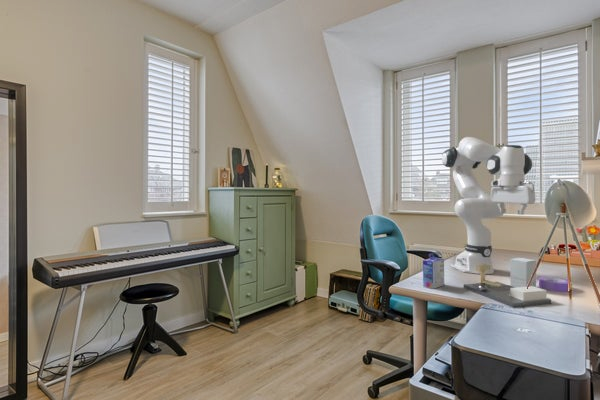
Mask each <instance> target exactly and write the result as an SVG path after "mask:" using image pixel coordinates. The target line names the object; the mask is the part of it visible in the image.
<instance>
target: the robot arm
mask: <svg viewBox="0 0 600 400" xmlns="http://www.w3.org/2000/svg"><path fill="white" fill-rule="evenodd" d="M441 161H442V164H443V166H444V167H446V168H454V170H453V171H452V178H453V180H454V182H453V183H454V184H455V186H456V189H457V190H458V191H457V192H458V193H459V195H460V196H461V197H462V198H461V199H458V200H457V201H456V202H455V205H454V209H453V210H454V212H455V214H456V216H457V217H458V218H460V219H461V220H462V221H463V223H464V226H465V228H466V233H467V234H466V235H467V236H466V237H467V244H465V245H463V247H465V248H464V251H462V252H461V253H458V255H456V258H455V263H451V264H450V267H452V268H454V269H456V270H458V271H460V272H463V273H470V274H478V275H479V274H480V275H481V271H476V265H482V264H489V265H491V268H490V270H485V275H492V274H494V273H495V268H494V265H493V263H494V262H493V256H492V253H493V252H492V249H493V245H492V232H491V230H490V228H488V227H487V226H485V225H483V222H482V219H484V220H486V219H487V220H488V219H490V220H492V219H497V218H501V217H503V215H504V214H505V213H507V209H506V204H519V207H520V208H519V209H518V210H517V214H518V215H525V210H526V208H527V206H528V205H533V204H535V203H536V192H535V184H533V183H532V182H531V181H525V176H526V175H527V174H528V173H529V172H530V171H531V169H532V167H533V160H532V159H531V157H530V156H529V155H528V154H527V153H525V150H524V147H523V146H522V145H519V144H506V145H504V146H503V145H502V147H501V148H500V147H497V146H495V145H493V144H490V143H487V142H486V141H484V140H481V139H480V138H477V137H473V136H465V137H463V138H462V139H461V140H460V141H459V143H458V146H457V147H453V146H452V147H450V148H448V149H446V150H444V151H443V153H442V154H441ZM485 162H486V170H487V171H488V173H490V174H491V175H493V176H500V177H499V178H498V179H494V180H492V181H491V182H490V184H491V188H490V193H488V192H487V191H486V190H485V189H484V188H483V187H482V186H481V183H480V182H479V181H478V178H477V177H476V175H475V174H474V172H473V169H477V168H478V166H479V165H481V163H485Z"/></svg>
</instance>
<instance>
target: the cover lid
mask: <svg viewBox="0 0 600 400" xmlns="http://www.w3.org/2000/svg"><path fill="white" fill-rule="evenodd" d="M547 291H548V290H546V289H543V288H540V287H537V286H536V287H534V286H529V287H528V289H527V287H517V288H510V296H513V297H516V298H519V299H521V300H531V299H541V298H547V294H548V293H547Z"/></svg>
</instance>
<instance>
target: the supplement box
mask: <svg viewBox="0 0 600 400" xmlns="http://www.w3.org/2000/svg"><path fill="white" fill-rule="evenodd" d="M535 266H536V267H537V260H535V259H531V258H530V259H529V258H524V257H513V258H511V259H510V270H509V272H510V273H509V275H510V278H509V279H510V283H509V285H510V286H513V287H516V288H517V287H526V286H527V284H528V282H529V280H530V278H531V275H532V274H533V271H534V269H535ZM530 286H534V287H537V272H536V273H535V275H534V277H533V280H532V282H531V284H530Z"/></svg>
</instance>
